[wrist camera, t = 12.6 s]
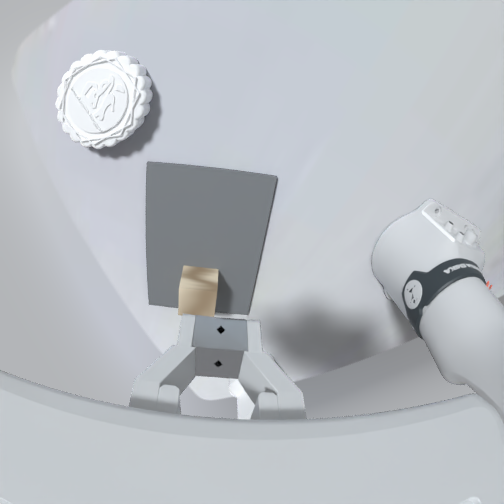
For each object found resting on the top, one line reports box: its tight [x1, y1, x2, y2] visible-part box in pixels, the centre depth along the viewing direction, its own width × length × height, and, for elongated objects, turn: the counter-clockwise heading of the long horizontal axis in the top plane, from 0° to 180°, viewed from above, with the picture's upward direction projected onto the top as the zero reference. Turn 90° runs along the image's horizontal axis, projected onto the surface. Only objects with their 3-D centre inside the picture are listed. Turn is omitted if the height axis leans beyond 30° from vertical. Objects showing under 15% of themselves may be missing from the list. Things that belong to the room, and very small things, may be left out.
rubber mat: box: [146, 162, 277, 315], centre depth 42 cm, size 16×23×1 cm
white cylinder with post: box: [229, 351, 275, 419], centre depth 52 cm, size 9×9×12 cm
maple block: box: [178, 265, 219, 317], centre depth 43 cm, size 5×5×5 cm
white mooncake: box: [56, 50, 153, 149], centre depth 29 cm, size 12×12×4 cm
